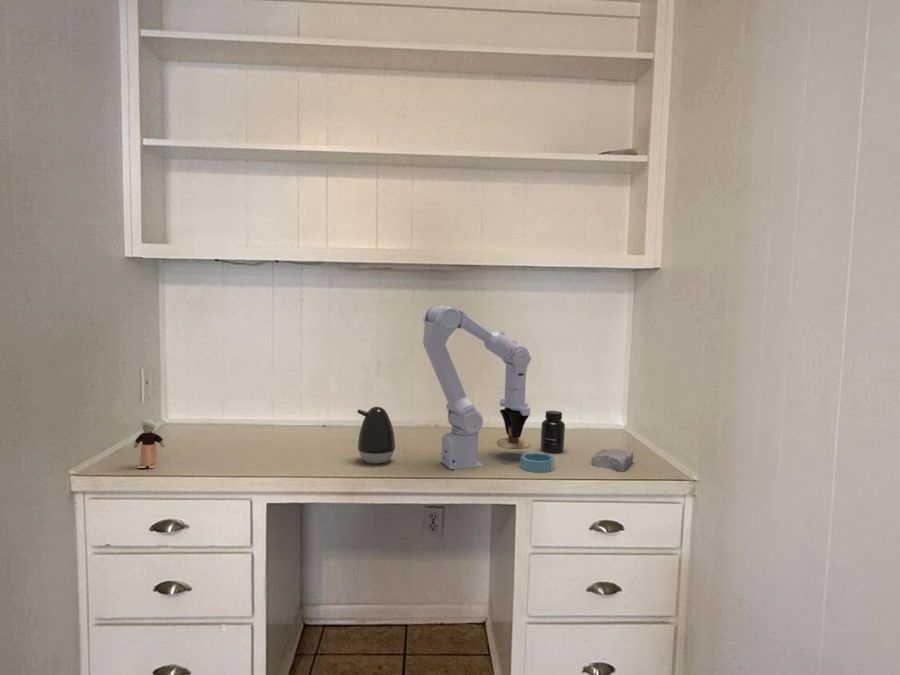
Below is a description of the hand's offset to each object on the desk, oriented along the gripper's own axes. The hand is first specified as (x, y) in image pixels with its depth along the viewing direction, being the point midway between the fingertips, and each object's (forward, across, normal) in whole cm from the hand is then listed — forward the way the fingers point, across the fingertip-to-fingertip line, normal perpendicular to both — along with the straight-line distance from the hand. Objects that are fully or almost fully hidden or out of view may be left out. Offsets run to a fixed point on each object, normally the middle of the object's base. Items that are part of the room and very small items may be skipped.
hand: (513, 435), depth 174 cm
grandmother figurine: (+8, +21, +94) cm, 97 cm away
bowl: (+6, -11, -2) cm, 13 cm away
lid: (+2, 0, 0) cm, 3 cm away
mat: (+6, 0, 0) cm, 7 cm away
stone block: (+7, -13, -24) cm, 28 cm away
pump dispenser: (+7, +9, +37) cm, 39 cm away
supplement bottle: (+7, +3, -15) cm, 16 cm away
